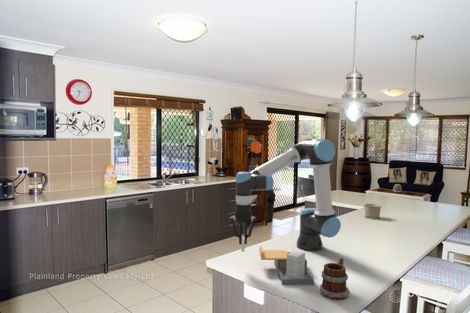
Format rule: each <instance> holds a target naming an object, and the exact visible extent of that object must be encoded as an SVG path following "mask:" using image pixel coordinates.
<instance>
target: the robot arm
mask: <svg viewBox="0 0 470 313" xmlns="http://www.w3.org/2000/svg"><path fill="white" fill-rule="evenodd" d="M335 156H336V148H335V144H333V142H331V140H328V139H326V138H325V139H323V138H306V139H303V140H301V141H299V142H298V143H296V144H294V145H292V146H290V147H288V150H286V151H285V152H283V153H281V154H280V155H278V156H276V157H275V158H273V159H270V160H269V161H267V162H266V163H263V164H262V165H260V166H258V167H256V168H254V169H252V170H251V171H238V172H236V175H235V203H236V204H235V213H234V215H233V216H230V218H229V219H230V221H231V222H232V227H233V231H234V235H235V237H236V238H238V243H239V245H240V251H241V253H242V252H245V251H246V250H245V249H246V248H245V247H246V245H247V244H248V238H250V237H251V236H252V233H253V232H252V231H253V229H254V224H255V222H256V220H257V217H256V216H253V214H252V204H251V203H252V192H255V191H258V192H260V191H269V190H270V191H271V190H273V188H274V178H273V177H272V176H273V175H275V174H277V173H278V172H280V171H282V170H283V169H285V168H287V167H289V166H291V165H292V164H295V163H299V162H301V161H304V160H309V166H311V167H312V175H313V183H314V184H313V185H314V195H315V198H314V199H315V207H306V208H302V209H301V210H300V214H299V235H298V238H297V240H296V247H297V248H298V249H300V250H304V251H310V252H311V251H314V252H315V251H320V250H322V249H323V247H324V246H323V242H322V237H326V238H328V239H329V238H334V237H335V236H336V235H338V233H339V232H340V230H341V226H342V225H341V224H342V223H341V219H339V218H338V217H337V215H336V210H334V209H333V202H332V188H331V187H332V186H331V176H330V175H331V174H330V166H331V165H332V163H333V162H332V160H333V159H334V158H335ZM236 220H237V221H238V224H239V225H238V227H239V228H237V225H236ZM250 220H251V221H250ZM249 221H250V225H249V228H248V222H249ZM243 223H244V225H243ZM243 228H244V230H243ZM238 229H239V230H238ZM242 232H244V234H243V233H242ZM321 236H322V237H321Z"/></svg>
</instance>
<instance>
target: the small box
mask: <svg viewBox="0 0 470 313" xmlns="http://www.w3.org/2000/svg"><path fill="white" fill-rule="evenodd" d="M290 252H291V253H289V254H287V271H286V277H289V278H300V277H301V276H303V275H304V274H305V258H306V252H304V251H299V250H295V249H294V250H292V251H290Z"/></svg>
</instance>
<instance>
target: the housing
mask: <svg viewBox="0 0 470 313" xmlns="http://www.w3.org/2000/svg"><path fill="white" fill-rule="evenodd" d="M291 252H292V251H287V253H288V254H289V253H291ZM273 261H274V262H273V264H274V267H275V269H276V272H277V276H278V278H279V280H280V282H281V285H282V286H284V285H286V286H314V284H315V283H314V282H315V279H314V278H313V275H312V274H311V272H310V271H309V269H308V268H307V267H308V260H307V258H306V257H305V274H304V275H303V276H301V277H300V278H289V277H286V271H287V260H273Z"/></svg>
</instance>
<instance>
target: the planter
mask: <svg viewBox="0 0 470 313" xmlns="http://www.w3.org/2000/svg"><path fill="white" fill-rule="evenodd" d="M363 206H364V208H363V209H364V217H365V218H366V217H368V218H367V219H369V218H378V219H380V215H381V210H382V209H381V208H382V205H381V204H377V203H365V204H364V205H363Z"/></svg>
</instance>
